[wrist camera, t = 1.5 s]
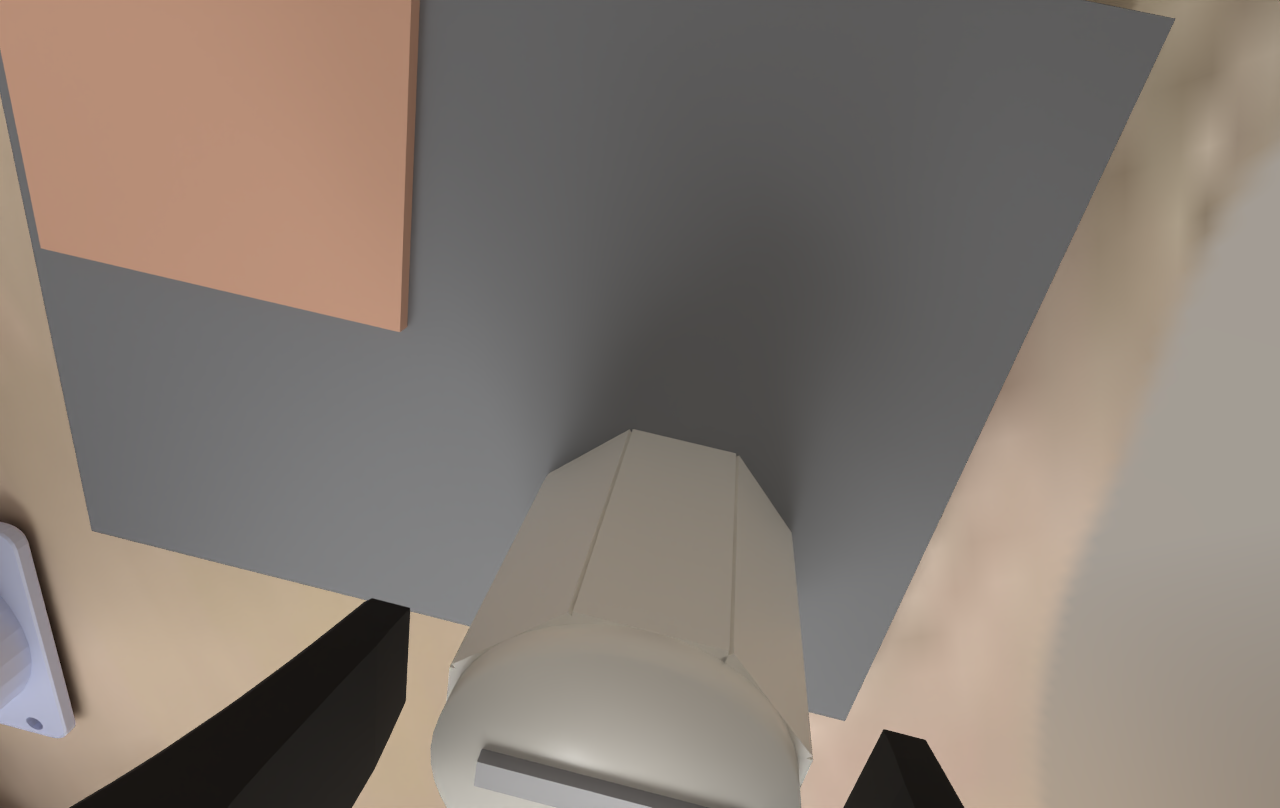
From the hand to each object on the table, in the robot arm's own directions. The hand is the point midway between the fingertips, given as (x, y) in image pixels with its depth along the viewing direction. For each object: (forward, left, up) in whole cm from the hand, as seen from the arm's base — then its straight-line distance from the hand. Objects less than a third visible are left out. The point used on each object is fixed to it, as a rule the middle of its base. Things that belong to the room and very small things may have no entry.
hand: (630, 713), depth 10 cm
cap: (0, 0, -4) cm, 4 cm away
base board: (-4, +3, -5) cm, 8 cm away
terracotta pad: (-9, +7, -4) cm, 12 cm away
